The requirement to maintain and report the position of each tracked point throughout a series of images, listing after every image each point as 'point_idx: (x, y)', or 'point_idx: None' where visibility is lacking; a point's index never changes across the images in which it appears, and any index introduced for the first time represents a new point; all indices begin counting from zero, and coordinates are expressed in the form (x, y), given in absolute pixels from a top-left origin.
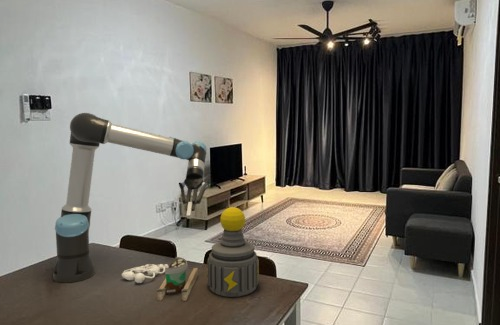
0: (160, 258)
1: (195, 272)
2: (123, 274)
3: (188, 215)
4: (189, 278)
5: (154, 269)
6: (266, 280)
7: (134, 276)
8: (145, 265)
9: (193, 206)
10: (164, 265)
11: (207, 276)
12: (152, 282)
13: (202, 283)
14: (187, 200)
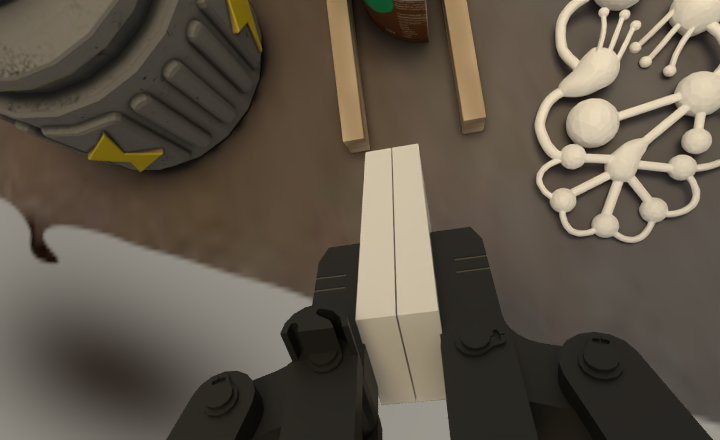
0: (684, 372)
1: (336, 82)
2: None
3: (390, 152)
4: (342, 6)
5: (583, 72)
6: (40, 165)
7: (670, 12)
8: (692, 159)
9: (333, 283)
10: (570, 191)
11: (247, 4)
12: (548, 22)
13: (302, 70)
14: (471, 340)
